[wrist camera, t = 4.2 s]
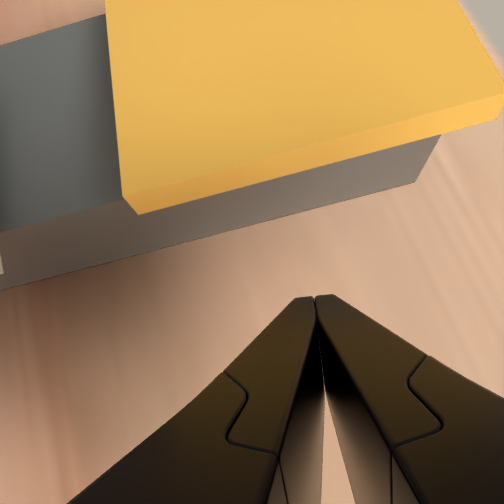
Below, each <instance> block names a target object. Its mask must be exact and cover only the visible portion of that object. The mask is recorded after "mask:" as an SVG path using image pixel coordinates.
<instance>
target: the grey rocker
mask: <svg viewBox="0 0 504 504" xmlns="http://www.w3.org/2000/svg"><path fill="white" fill-rule="evenodd" d="M0 274H4V272H3V267H2V261H1V256H0Z"/></svg>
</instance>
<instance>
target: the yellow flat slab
mask: <svg viewBox="0 0 504 504" xmlns="http://www.w3.org/2000/svg"><path fill="white" fill-rule="evenodd" d="M104 1H105V12H106V23H107V34H108V44H109V55H110V66H111V77H112V88H113V99H114V110H115V121H116V131H117V142H118V153H119V164H120V175H121V186H122V197H123V198H124V199H125V200H126V201H127V202H128V203H129V205H130V206H131V207H132V208H133V209H134V210H135V212H136V213H137V214H138V215H140V214H144V213H148V212H151V211H155V210H159V209H163V208H166V207H170V206H174V205H178V204H181V203H185V202H189V201H193V200H196V199H200V198H204V197H208V196H211V195H215V194H219V193H223V192H226V191H230V190H234V189H237V188H241V187H245V186H249V185H252V184H256V183H260V182H264V181H267V180H271V179H275V178H279V177H282V176H286V175H290V174H294V173H297V172H301V171H305V170H309V169H312V168H316V167H320V166H324V165H327V164H331V163H335V162H338V161H342V160H346V159H350V158H353V157H357V156H361V155H365V154H368V153H372V152H376V151H380V150H383V149H387V148H391V147H395V146H398V145H402V144H406V143H410V142H413V141H417V140H421V139H425V138H428V137H432V136H436V135H439V134H443V133H447V132H451V131H454V130H458V129H462V128H466V127H469V126H473V125H477V124H481V123H484V122H488V121H492V120H496V118H497V116H498V114H499V112H500V110H501V108H502V106H503V104H504V80H503V79H502V77H501V75H500V74H499V72H498V70H497V68H496V67H495V65H494V63H493V62H492V60H491V58H490V57H489V55H488V53H487V51H486V50H485V48H484V46H483V45H482V43H481V41H480V40H479V38H478V36H477V34H476V33H475V31H474V29H473V28H472V26H471V24H470V22H469V21H468V19H467V17H466V16H465V14H464V12H463V11H462V9H461V7H460V5H459V4H458V2H457V0H104Z"/></svg>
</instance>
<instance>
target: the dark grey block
mask: <svg viewBox="0 0 504 504" xmlns="http://www.w3.org/2000/svg"><path fill="white" fill-rule="evenodd" d="M440 136H441V134H439V135H436V136H432V137H428V138H425V139H421V140H417V141H413V142H410V143H406V144H402V145H398V146H395V147H391V148H387V149H383V150H380V151H376V152H372V153H368V154H365V155H361V156H357V157H353V158H350V159H346V160H342V161H338V162H335V163H331V164H327V165H324V166H320V167H316V168H312V169H309V170H305V171H301V172H297V173H294V174H290V175H286V176H282V177H279V178H275V179H271V180H267V181H264V182H260V183H256V184H252V185H249V186H245V187H241V188H237V189H234V190H230V191H226V192H223V193H219V194H215V195H211V196H208V197H204V198H200V199H196V200H193V201H189V202H185V203H181V204H178V205H174V206H170V207H166V208H163V209H159V210H155V211H151V212H148V213H144V214H140V215H138V214H137V213H136V212H135V210H134V209H133V208H132V207H131V206H130V205H129V203H128V202H127V201H126V200H125V199H124V198H123V197H122V186H121V175H120V164H119V153H118V142H117V131H116V121H115V110H114V99H113V88H112V77H111V66H110V55H109V44H108V34H107V23H106V14H103V15H100V16H96V17H93V18H90V19H86V20H83V21H80V22H77V23H73V24H70V25H67V26H63V27H60V28H57V29H53V30H50V31H47V32H44V33H40V34H37V35H34V36H30V37H27V38H24V39H21V40H17V41H14V42H11V43H7V44H4V45H1V46H0V256H1V261H2V267H3V272H4V274H0V290H4V289H8V288H11V287H15V286H19V285H23V284H27V283H31V282H34V281H38V280H42V279H46V278H50V277H54V276H57V275H61V274H65V273H69V272H73V271H77V270H80V269H84V268H88V267H92V266H96V265H100V264H104V263H107V262H111V261H115V260H119V259H123V258H127V257H130V256H134V255H138V254H142V253H146V252H150V251H153V250H157V249H161V248H165V247H169V246H173V245H176V244H180V243H184V242H188V241H192V240H196V239H199V238H203V237H207V236H211V235H215V234H219V233H222V232H226V231H230V230H234V229H238V228H242V227H245V226H249V225H253V224H257V223H261V222H265V221H268V220H272V219H276V218H280V217H284V216H288V215H292V214H295V213H299V212H303V211H307V210H311V209H315V208H318V207H322V206H326V205H330V204H334V203H338V202H341V201H345V200H349V199H353V198H357V197H361V196H364V195H368V194H372V193H376V192H380V191H384V190H387V189H391V188H395V187H399V186H403V185H407V184H410V183H414V182H415V181H416V179H417V177H418V176H419V174H420V172H421V170H422V168H423V167H424V165H425V163H426V161H427V159H428V158H429V156H430V154H431V152H432V150H433V149H434V147H435V145H436V143H437V141H438V139H439V138H440Z"/></svg>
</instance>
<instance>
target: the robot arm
mask: <svg viewBox="0 0 504 504" xmlns="http://www.w3.org/2000/svg"><path fill="white" fill-rule="evenodd" d="M315 308H316V309H315ZM319 343H320V344H319ZM320 352H321V353H320ZM321 360H322V362H321ZM322 369H323V371H322ZM323 377H324V380H323ZM324 385H325V391H324ZM325 392H326V397H327V401H328V405H329V408H330V412H331V416H332V419H333V423H334V427H335V430H336V434H337V438H338V441H339V445H340V449H341V452H342V456H343V460H344V463H345V467H346V471H347V474H348V478H349V482H350V485H351V489H352V493H353V496H354V500H355V504H504V398H503V397H501V396H499V395H497V394H495V393H493V392H492V391H490V390H488V389H486V388H484V387H482V386H480V385H478V384H477V383H475V382H473V381H471V380H469V379H467V378H466V377H464V376H462V375H461V374H459V373H457V372H456V371H454V370H452V369H451V368H449V367H447V366H446V365H444V364H443V363H441V362H439V361H438V360H436V359H435V358H433V357H432V356H428V355H427V354H426V353H424V352H423V351H421V350H419V349H418V348H416V347H415V346H413V345H412V344H410V343H409V342H407V341H405V340H404V339H402V338H401V337H399V336H398V335H396V334H395V333H393V332H391V331H390V330H388V329H387V328H385V327H384V326H382V325H381V324H379V323H377V322H376V321H374V320H373V319H371V318H370V317H368V316H367V315H365V314H364V313H362V312H360V311H359V310H357V309H356V308H354V307H353V306H351V305H350V304H348V303H346V302H345V301H343V300H342V299H340V298H339V297H337V296H336V295H333V294H329V295H319V296H316V297H315V301H314V298H313V297H312V296H309V297H299V298H295V299H293V300H292V301H291V302H290V303H289V304H288V306H287V307H286V308H285V309H284V310H283V311H282V312H281V313H280V314H279V315H278V316H277V317H276V318H275V319H274V320H273V321H272V322H271V323H270V324H269V325H268V326H267V327H266V328H265V329H264V330H263V331H262V332H261V333H260V334H259V335H258V336H257V337H256V338H255V339H254V340H253V341H252V342H251V343H250V344H249V345H248V346H247V347H246V348H245V349H244V350H243V352H242V353H241V354H240V355H239V356H238V357H237V358H236V359H235V360H234V361H233V362H232V363H231V364H230V365H229V366H228V367H227V368H226V369H225V370H224V371H223V372H222V373H220V374H219V375H218V376H217V377H216V378H215V379H214V380H213V381H212V382H211V383H210V384H209V385H208V386H207V387H206V388H205V389H204V390H203V391H202V392H201V393H200V394H199V395H198V396H197V397H196V398H194V399H193V400H192V401H191V402H190V403H189V404H188V405H186V406H185V407H184V408H183V409H182V410H181V411H179V412H178V413H177V414H176V415H175V416H173V417H172V418H171V419H170V420H169V421H167V422H166V423H165V424H164V425H162V426H161V427H160V428H159V429H158V430H156V431H155V432H154V433H153V434H151V435H150V436H149V437H148V438H147V439H145V440H144V441H143V442H142V443H140V444H139V445H138V446H137V447H136V448H134V449H133V450H132V451H131V452H129V453H128V454H127V455H126V456H124V457H123V458H122V459H121V460H120V461H118V462H117V463H116V464H115V465H113V466H112V467H111V468H110V469H109V470H107V471H106V472H105V473H104V474H102V475H101V476H100V477H99V478H97V479H96V480H95V481H94V482H93V483H91V484H90V485H89V486H88V487H86V488H85V489H84V490H83V491H82V492H80V493H79V494H78V495H77V496H75V497H74V498H73V499H72V500H71V501H69V502H68V503H67V504H321V489H322V462H323V435H324V408H325Z"/></svg>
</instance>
